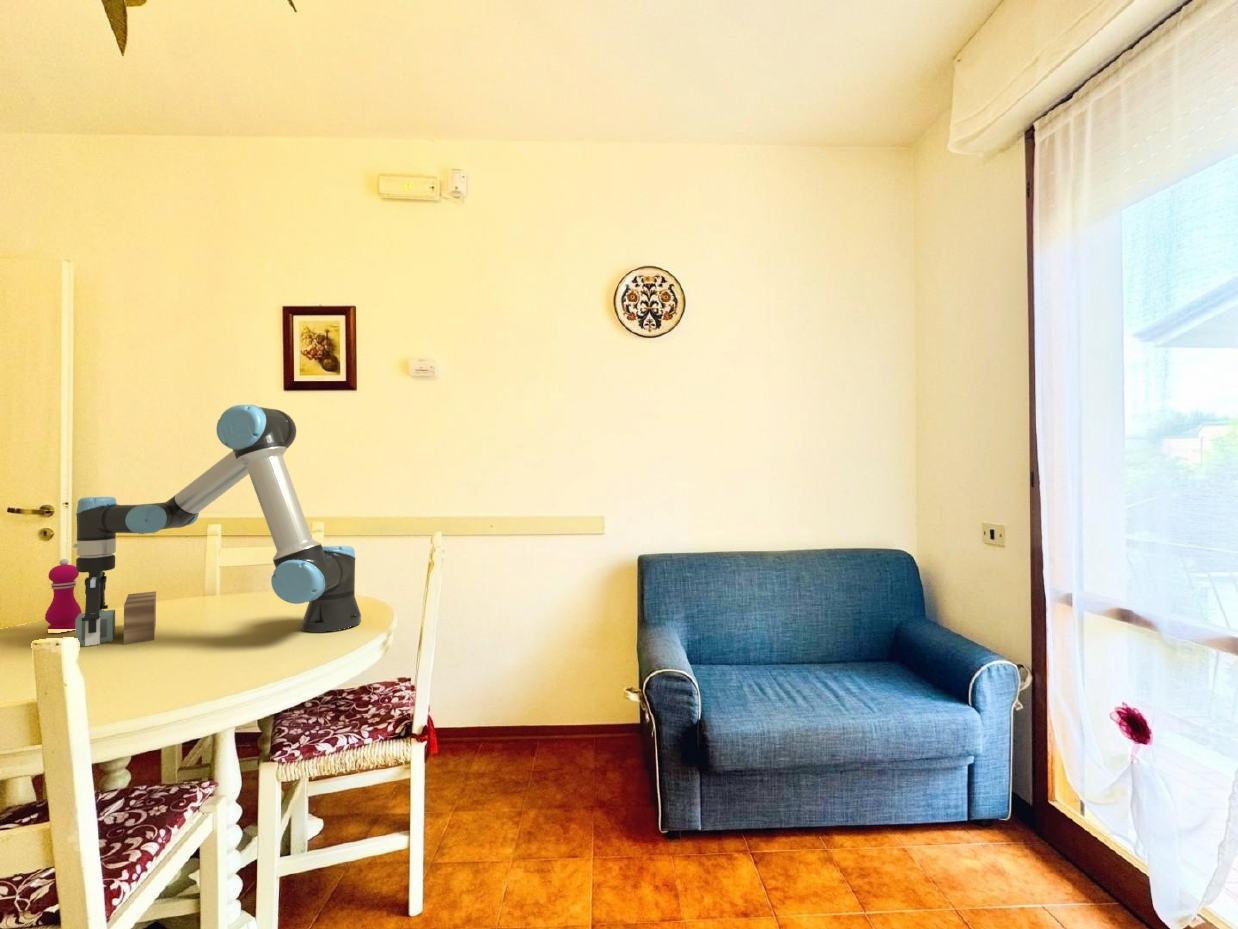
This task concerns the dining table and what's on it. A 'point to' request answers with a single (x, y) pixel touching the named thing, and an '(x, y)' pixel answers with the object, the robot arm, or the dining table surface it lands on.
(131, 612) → the walnut box
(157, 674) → the dining table surface
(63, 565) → the pepper mill
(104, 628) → the letter cube
